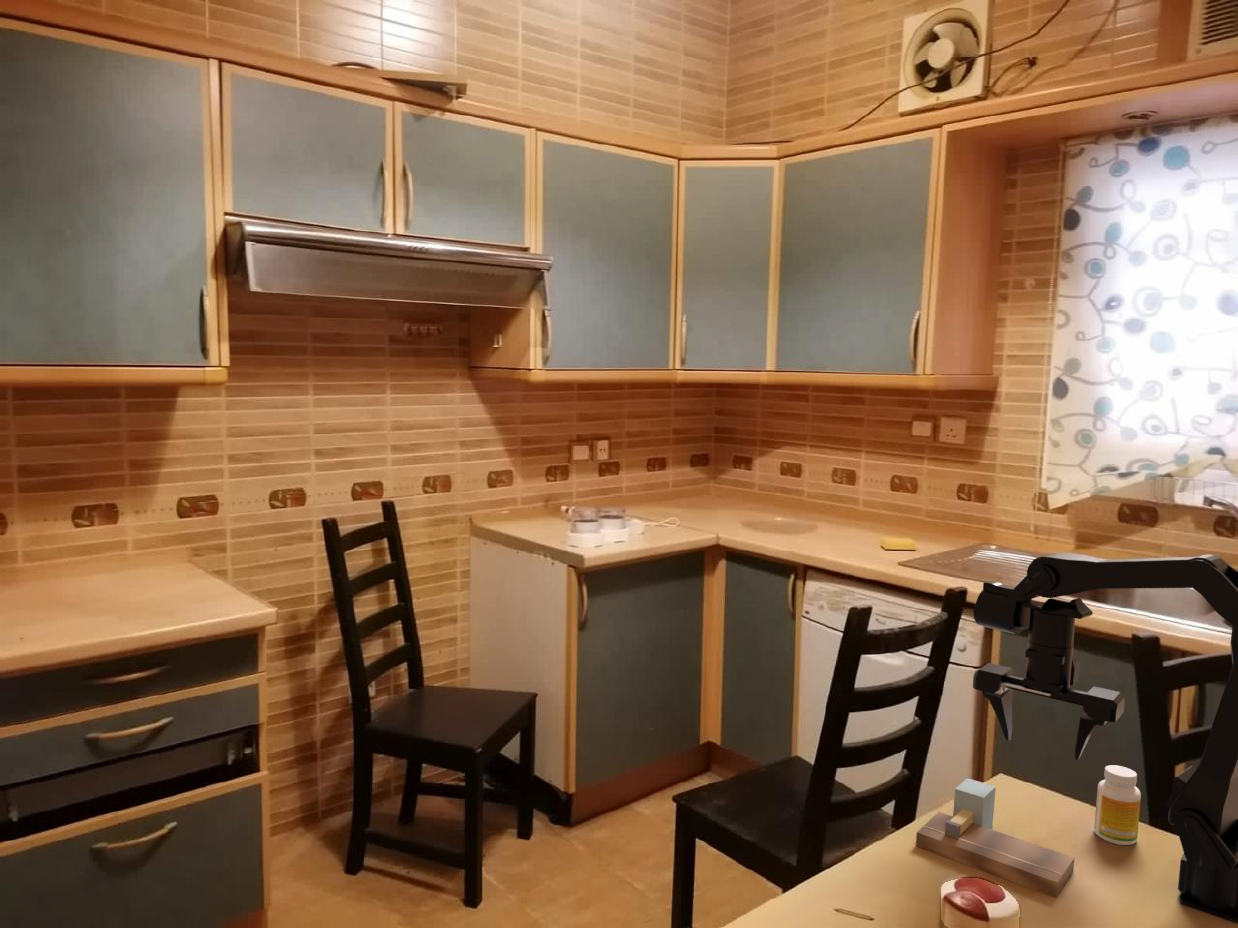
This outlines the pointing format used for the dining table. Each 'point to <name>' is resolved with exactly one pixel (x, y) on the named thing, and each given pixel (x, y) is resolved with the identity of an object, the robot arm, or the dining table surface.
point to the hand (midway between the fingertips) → (1042, 749)
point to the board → (999, 855)
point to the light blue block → (971, 807)
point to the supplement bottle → (1118, 806)
